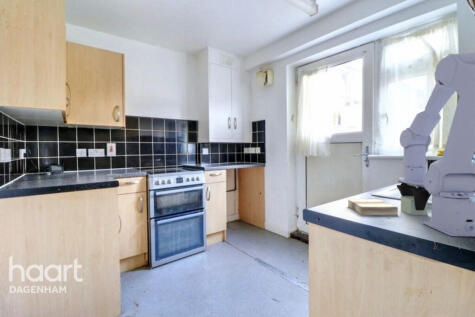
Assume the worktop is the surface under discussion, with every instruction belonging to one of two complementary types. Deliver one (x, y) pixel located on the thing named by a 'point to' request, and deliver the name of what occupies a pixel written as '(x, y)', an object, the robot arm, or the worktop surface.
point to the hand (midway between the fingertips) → (413, 207)
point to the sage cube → (412, 206)
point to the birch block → (372, 207)
